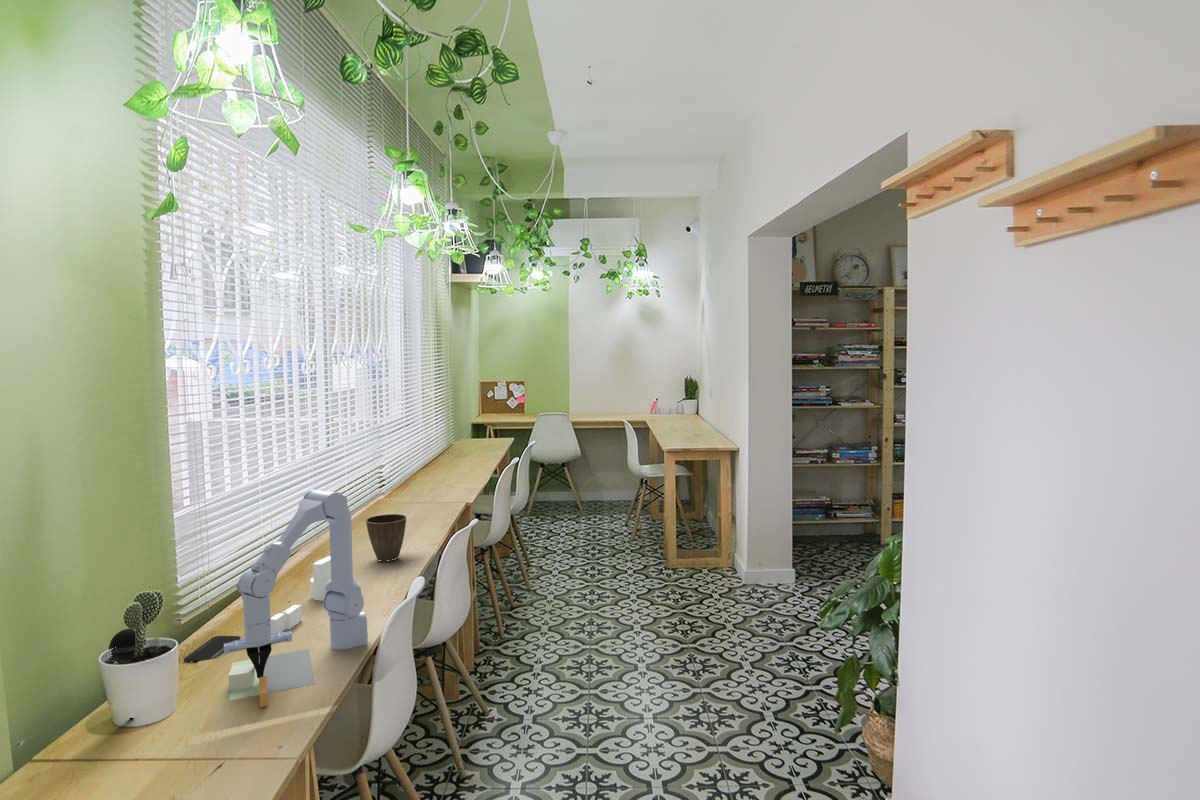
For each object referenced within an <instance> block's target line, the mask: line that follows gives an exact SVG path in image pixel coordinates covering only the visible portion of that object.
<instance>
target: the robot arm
mask: <svg viewBox="0 0 1200 800" xmlns="http://www.w3.org/2000/svg"><path fill="white" fill-rule="evenodd" d="M297 507H298V509H297V511H296V512H295V514H294V516H293V517H292V519H291V520H290V521H289V523H288V525H287V526H286V528H285V529H284V531H283V532H282V534H281V535H280V537H279V539H278V540H277V541H275V542H271V543H269V545H266V546H265V547H264V548H263V553H261V554H260V556H259V558H258V559H257V561H256V562H255V563H254V564H253V565H252V566H251V568H250V569H248V570H247V571H245V572H243V573H242V574H241V576H240V577H239V580H238V582H237V584H236V586H235V587H236V589H237V592H239V593H240V595H241V600H242V608H243V609H242V611H243V627H244V628H243V629H244V631H243V632H244V638H241V639H240V640H237V641H234V642H230V643H226V644H224V653H223V654H224V655H226V656H227V655H229V654H230V653H235V652H239V651H244V650H246V654H247V657H248V658H249V660H251V661H252V663H253V665H254V667H255V670H256V673H257V678H259V677H263V674H264V669H265V665H266V662H267V659H268V657H269V656H271V655H270V654H271V652H272V645H275V644H281V643H285V642H287V643H289V642H293V634H292V631H291V630H287V631H284V632H279V633H271V618H272V616H271V615H272V614H271V593H272V592H273V591H274V589H275V586H276V579H277V578H278V577H277V576H278V574H279V573H280V572H281V570H282V569H283V567H284V566H285V564H286V563H287V562H288V561H289V559H290V558H291V556H292V555H291V554H292V552H291V548H292V547H293V546H294V545H295V543H296V542H297V541H298V539H299V538H300V537H301V536H302V535H303V533H305V531H306V530H307V529H308V527H309V526H310V525H311V524H313V523H317V522H321V521H326V522H327V523H328V524H329V545H330V547H329V551H330V553H329V554H330V555H329V556H330V557H331V582H330V583H329V584H328V585H327V586H326V587H325V596H324V598H323V601H322V605H323V606H322V607H323V608H324V610H325V611H326V612H327V615H328V616H329V633H330V635H329V636H330V637H329V638H330V648H331V649H333V650H338V651H340V650H341V651H342V650H348V649H352V648H355V647H360V646H366V648H367V649H368V648H369V644H368V643H369V641H368V640H369V639H368V638H369V633H368V620H367V614H366V612H365V611H362V610H363V608H364V605H365V604H364V603H365V598H364V596H363V595H362V591H361V590H362V588H361V586H360V585H359V584H358V582H357V581H356V580H355V579H354V572H353V571H354V570H353V569H354V566H353V565H354V563H353V538H352V537H353V534H352V533H353V532H352V530H353V529H352V513H351V511H350V509H349V506H348V497H347V496H345V495H343V494H342V493H341V492H338V491H337V492H336V491H327V490H318V489H316V488H314V489H310V490H307V491H306V493H305V494H303V497H302V498H301V499H300V500H299V502H298V506H297Z"/></svg>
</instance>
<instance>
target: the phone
mask: <svg viewBox="0 0 1200 800" xmlns="http://www.w3.org/2000/svg"><path fill="white" fill-rule="evenodd" d="M240 639H242V638H241V636H240V635H216V636H213V637H211V638H210V639H209V640H207V641H206V642H204V643H203V644H202V645H200V646H198V647H197V648H196V649H194V650H193V651H191V652H190V653H188V654H187V655H186V656H185V657H184V658H183V662H184V663H189V662H188V661H198V662H204V661H209V660H215V659H218V658H219V657H220V656H222V655H223V654H224V644H226V643H230V642H234V641H237V640H240ZM221 654H222V655H221ZM218 656H219V657H218ZM217 657H218V658H217ZM186 661H187V662H186Z"/></svg>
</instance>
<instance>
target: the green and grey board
mask: <svg viewBox="0 0 1200 800" xmlns="http://www.w3.org/2000/svg"><path fill="white" fill-rule="evenodd" d="M247 664H253V663H252V661H251V660H250V659H246V660H241V661H240V660H239V661H235V662H232V664H231V667H233V666H240V665H247ZM312 664H313V663H312V660H311V653H310V649H309V648H307V649H301V650H295V651H290V652H289V651H288V652H285V653H279V654H274V655H269V657H268V659H267V662H266V665H265V669H264V674H263V677H264V676H267V692H268V694H272V693H277V692H280V691H286V690H292V689H296V688H301V687H305V686H310V685H316V682H315V676H314V672H313V665H312ZM257 696H259V678H257V673H256V670H255V681H254V684H253V687H246V688H240V689H233V690H229V702H231V701H235V700H241V699H248V698H252V697H257Z"/></svg>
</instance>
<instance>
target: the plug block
mask: <svg viewBox="0 0 1200 800" xmlns="http://www.w3.org/2000/svg"><path fill="white" fill-rule="evenodd" d="M227 679H228V690H229V691H230V690H233V689H240V688H246V687H253V684H254V681H255V667H254V665H253V664H247V665H240V666H233V667H232V666H231V667H230V670H229V673H228V678H227Z"/></svg>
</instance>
